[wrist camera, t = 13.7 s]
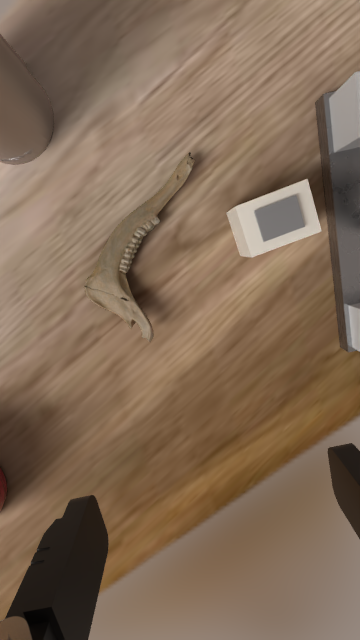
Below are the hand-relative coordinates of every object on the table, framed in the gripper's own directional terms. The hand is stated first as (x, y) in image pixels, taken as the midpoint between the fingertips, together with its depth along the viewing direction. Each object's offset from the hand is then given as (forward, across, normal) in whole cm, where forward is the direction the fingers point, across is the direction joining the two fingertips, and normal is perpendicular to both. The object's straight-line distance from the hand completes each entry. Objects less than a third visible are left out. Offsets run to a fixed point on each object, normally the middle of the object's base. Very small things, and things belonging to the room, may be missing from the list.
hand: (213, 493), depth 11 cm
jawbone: (+30, 0, -6) cm, 30 cm away
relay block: (+29, -10, -8) cm, 32 cm away
